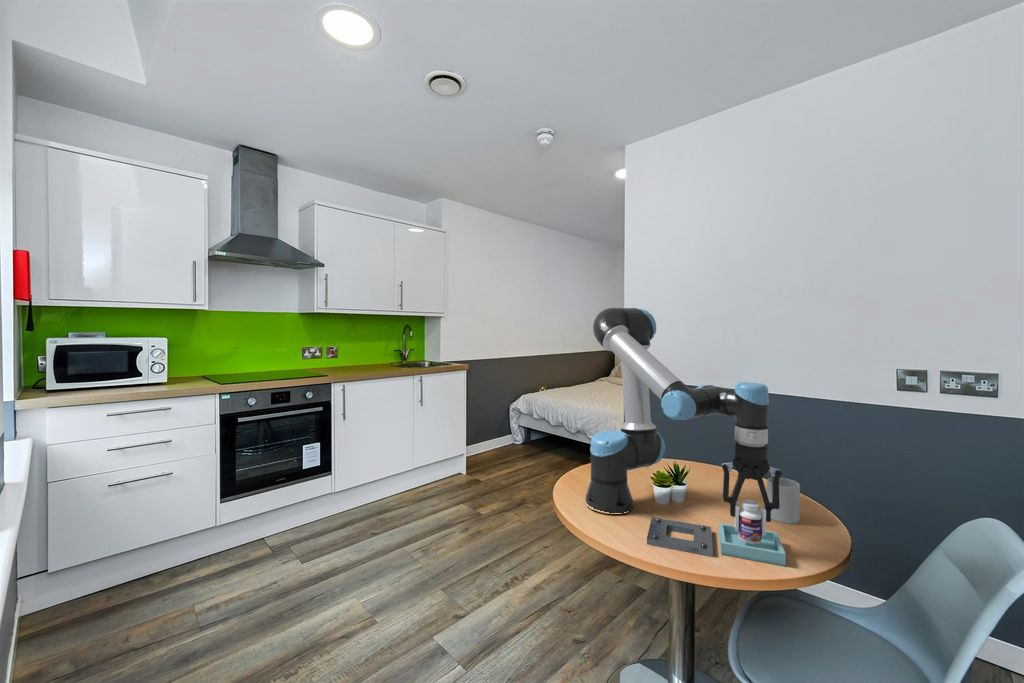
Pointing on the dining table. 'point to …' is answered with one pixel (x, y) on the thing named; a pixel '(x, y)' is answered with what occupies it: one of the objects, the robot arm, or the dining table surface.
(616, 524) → the dining table surface
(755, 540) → the pill bottle
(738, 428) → the robot arm
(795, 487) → the mug
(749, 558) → the tray
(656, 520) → the plate
